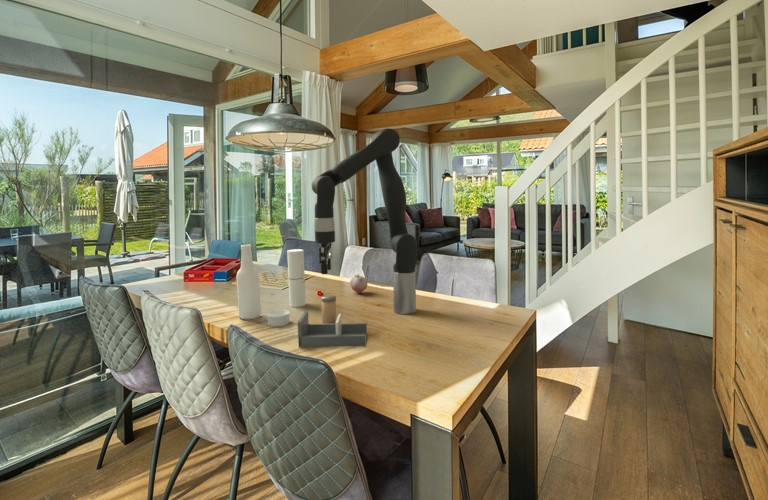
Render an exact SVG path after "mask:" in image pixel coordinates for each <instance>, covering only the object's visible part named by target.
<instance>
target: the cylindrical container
mask: <svg viewBox="0 0 768 500" xmlns="http://www.w3.org/2000/svg"><path fill="white" fill-rule="evenodd" d="M286 254H287V255H286V256H287V257H286V258H287V277H288V293H289V294H288V295H289V296H288V297H289V298H288V299H289V306H290V307H293V308H299V307H304V306H306V303H307V302H306V298H307V297H306V280H305V277H306V276H305V255H304V254H305V253H304V249H299V248H295V249H289V250H288V249H287V251H286Z"/></svg>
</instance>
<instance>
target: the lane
mask: <svg viewBox="0 0 768 500" xmlns="http://www.w3.org/2000/svg"><path fill="white" fill-rule="evenodd" d="M309 321H310V320H309V310H304V311H303V313H302V315H301V317H300V318H299V320H298V321H297V337H298V338H297V339H298V340H297V341H298V348H317V347H318V348H322V347H323V348H326V347H327V348H328V347H329V348H330V347H333V348H335V347H339V346H340V347H366V345H365V344H366V343H367V335H368V334H367V333H368V325H367V324H368V323H367V322H360V323H359V322H358V323H357V322H356V323H355V322H353V323H352V322H349V323H348V322H345V323H342V322H341V328H342V333H341V335H336V324H322V323H309ZM340 347H339V348H340Z"/></svg>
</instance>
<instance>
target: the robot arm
mask: <svg viewBox="0 0 768 500" xmlns="http://www.w3.org/2000/svg"><path fill="white" fill-rule="evenodd" d="M400 141H401V138H400V134H399V132H398V131H397V130H395V129H393V128H383V129H381V130H378V131H376V132H374V133H373V135H372V137H371V142H370V143H369V144H367V145H366V146H364V147H363V148H361V149H359V150H357V151H356V152H354V153H352V154H350V155H348V156H347V157H345V158H344V159H342V160H341V161H340V162H338V163H336V164H335V165H334V166H332V168H329V169H328V170H327V171H325V172H323V173H321V174H319V175H317V176H316V177H315V178H314V179H313V180H312V182H311V191H313V193H315V194H316V203H314V243H316V244H320V246H319V248H318V252H319V253H318V256H319V258H318V259H319V264H320V266H321V269H320V270H321V271H320V272H321V275H328V272H329V271H330V270H331V269H332V258H333V253H332V252H333V251H332V244H333V243H335V242H336V226H335V225H336V224H335V218H334V214H335V213H334V202H335V195H336V187H337V186H338V185H340V184H343V183H345V182H346V181H348V180H350V179H352V177H354V176H355V175H356V174H358V173H360V172H361V171H362V170H363V169H364V168H366V167H367V166H368V165H370V164H372V163H373V162H374V161H375V162H376V166H377V171H378V177H379V182H380V187H381V194H382V198H383V202H384V203H383V204H384V207H385V214H386V218H387V220H388V229H389V238H390V239H389V241H390V247H391V249H392V251H393V252H394V253H395V263H394V264H393V268H392V269H393V270H392V271H393V273H392V275H393V276H392V278H393V280H392V281H393V282H392V283H393V312H394V313H396V314H400V315H409V314H414V313H416V312H417V304H416V303H417V291H416V268H417V267H416V266H417V263H418V241H417V239H416V238H415V236H414V235H412V234H409V232H408V229H407V224H406V212H407V211H406V210H407V196H406V189H405V186H404V185H405V184H404V182H403V180H402V178H401V176H400V175H399V172H398V170H397V168H396V167H395V163H394V158H393V153H394V152H395V151H396V150H397V149H398V147H399V146H400Z"/></svg>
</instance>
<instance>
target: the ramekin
mask: <svg viewBox="0 0 768 500" xmlns="http://www.w3.org/2000/svg"><path fill="white" fill-rule="evenodd" d="M265 315H266V318H267V324H268V326H269V327H272V328H273V327H274V328H275V327H278V328H279V327H284V326H287V325H288V324H289V323H290V315H291V313H290V311H289V310H286V309H277V310H272V311H268V312H267V313H266V314H265Z"/></svg>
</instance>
